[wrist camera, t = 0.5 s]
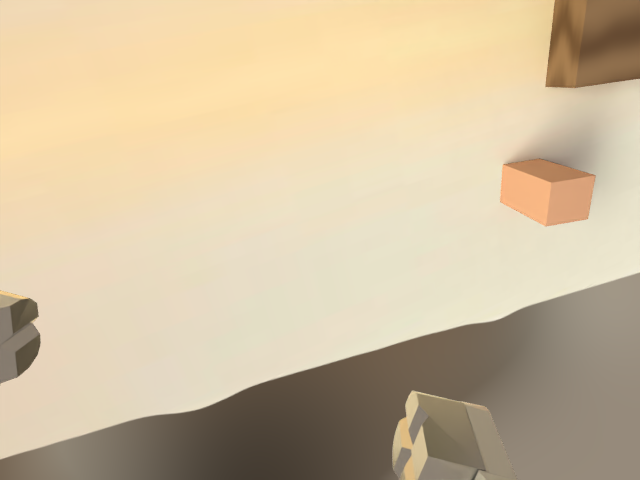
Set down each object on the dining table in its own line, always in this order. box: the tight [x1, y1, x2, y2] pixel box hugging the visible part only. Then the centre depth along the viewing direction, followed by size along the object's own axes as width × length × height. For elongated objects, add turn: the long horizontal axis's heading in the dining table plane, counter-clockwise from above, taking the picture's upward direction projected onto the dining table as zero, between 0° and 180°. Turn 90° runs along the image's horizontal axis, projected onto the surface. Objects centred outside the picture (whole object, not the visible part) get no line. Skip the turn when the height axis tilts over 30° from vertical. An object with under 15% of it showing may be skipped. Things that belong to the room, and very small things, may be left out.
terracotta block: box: [500, 159, 596, 226], centre depth 46 cm, size 5×5×9 cm
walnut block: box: [545, 0, 640, 88], centre depth 42 cm, size 10×10×5 cm
